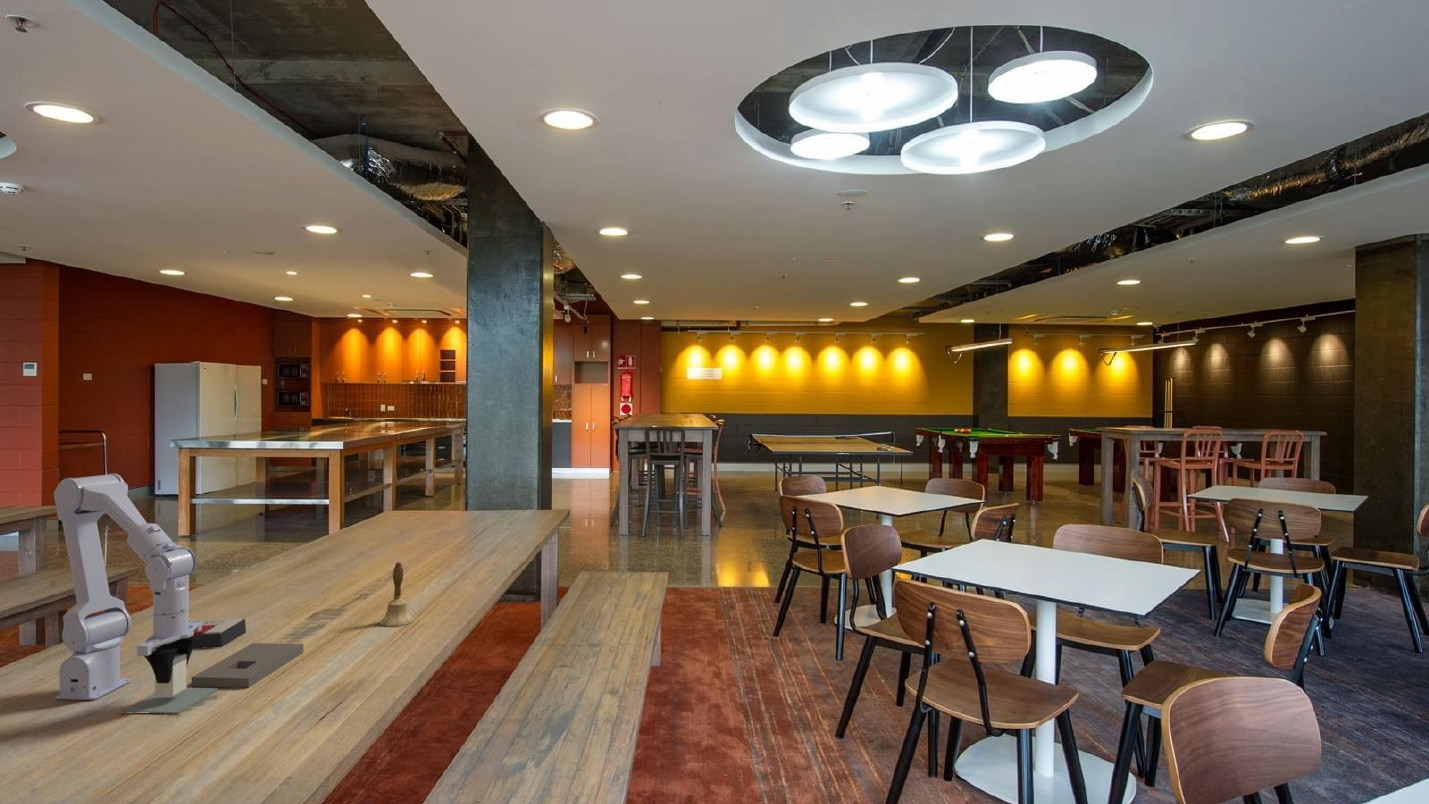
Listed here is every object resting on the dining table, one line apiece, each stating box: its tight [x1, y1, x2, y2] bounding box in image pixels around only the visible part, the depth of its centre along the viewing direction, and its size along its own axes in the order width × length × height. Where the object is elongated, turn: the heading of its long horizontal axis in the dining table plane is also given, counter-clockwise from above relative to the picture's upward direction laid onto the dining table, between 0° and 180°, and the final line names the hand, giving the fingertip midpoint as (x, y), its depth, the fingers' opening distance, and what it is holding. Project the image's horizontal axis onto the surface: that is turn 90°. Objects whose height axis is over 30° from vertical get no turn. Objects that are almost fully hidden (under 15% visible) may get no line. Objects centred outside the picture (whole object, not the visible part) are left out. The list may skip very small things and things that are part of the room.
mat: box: [120, 687, 219, 715], centre depth 145 cm, size 11×11×1 cm
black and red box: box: [189, 618, 247, 648], centre depth 179 cm, size 11×4×15 cm
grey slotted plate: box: [191, 642, 304, 689], centre depth 162 cm, size 20×12×2 cm, turn 0°
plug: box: [154, 654, 187, 696], centre depth 145 cm, size 4×4×7 cm
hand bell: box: [379, 561, 414, 628], centre depth 195 cm, size 8×8×16 cm
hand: (171, 678), depth 145 cm, fingers closed on plug, 3 cm apart
